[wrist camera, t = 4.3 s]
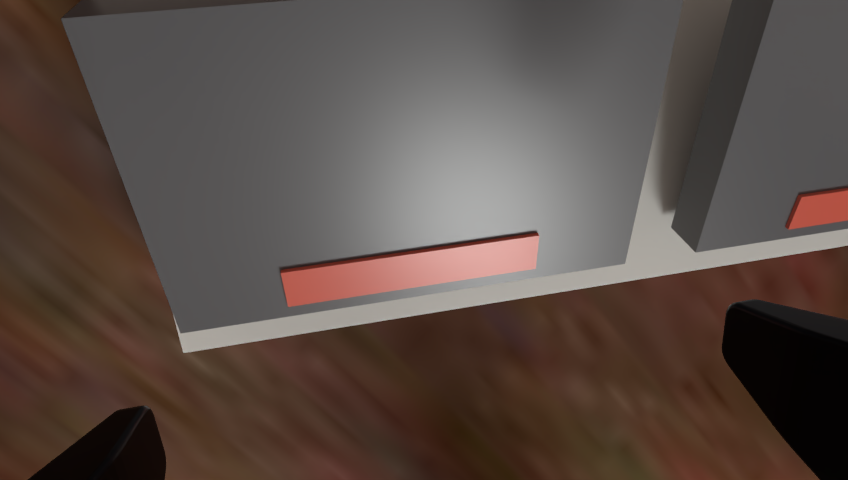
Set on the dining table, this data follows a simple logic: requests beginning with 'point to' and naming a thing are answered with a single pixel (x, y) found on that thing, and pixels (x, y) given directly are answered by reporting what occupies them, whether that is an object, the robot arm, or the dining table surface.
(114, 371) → the dining table surface
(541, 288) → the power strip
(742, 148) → the panel
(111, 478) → the robot arm
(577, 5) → the outer rocker
